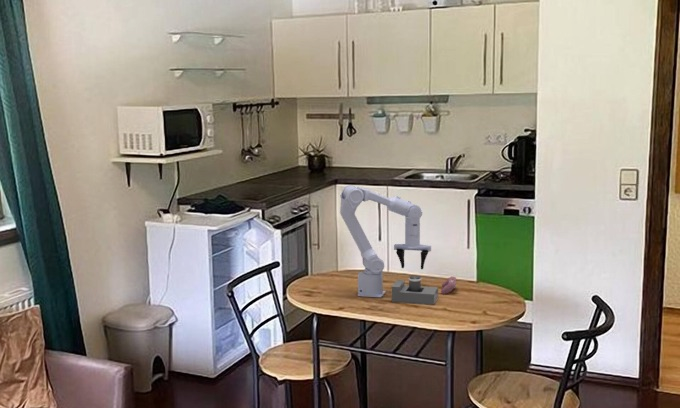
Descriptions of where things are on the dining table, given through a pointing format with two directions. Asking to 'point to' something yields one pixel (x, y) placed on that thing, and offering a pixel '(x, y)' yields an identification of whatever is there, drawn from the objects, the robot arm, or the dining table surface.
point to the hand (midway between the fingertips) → (412, 268)
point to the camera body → (413, 294)
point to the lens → (415, 283)
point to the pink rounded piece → (448, 285)
